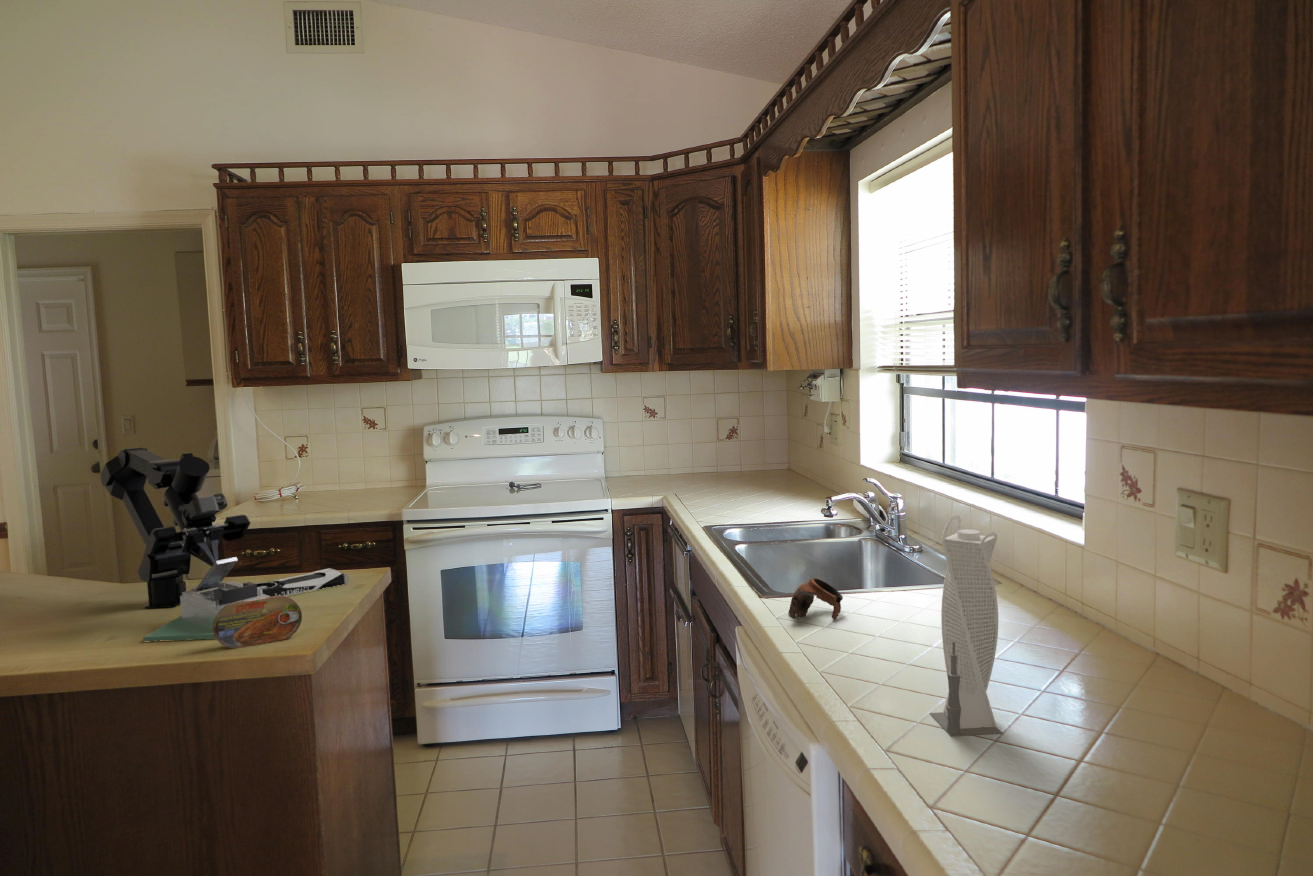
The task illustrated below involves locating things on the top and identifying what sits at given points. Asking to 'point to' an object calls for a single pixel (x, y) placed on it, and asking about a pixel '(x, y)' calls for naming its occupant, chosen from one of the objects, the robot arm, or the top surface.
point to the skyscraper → (968, 632)
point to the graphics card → (303, 583)
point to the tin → (257, 621)
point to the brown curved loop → (805, 597)
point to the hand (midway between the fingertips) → (215, 565)
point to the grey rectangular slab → (216, 574)
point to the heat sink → (215, 601)
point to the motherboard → (180, 631)
